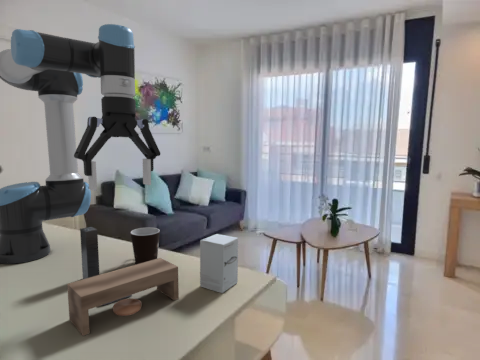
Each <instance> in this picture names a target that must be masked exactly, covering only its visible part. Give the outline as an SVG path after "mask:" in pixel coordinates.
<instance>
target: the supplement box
mask: <svg viewBox="0 0 480 360" xmlns="http://www.w3.org/2000/svg"><path fill="white" fill-rule="evenodd" d="M199 245H200V246H199V249H200V250H199V257H200V258H199V260H200V261H199V266H200V267H199V270H200V271H199V277H200V278H199V280H200V281H199V286H200V287H201V288H205V289H207V290H211V291H213V292H217V293H220V294H224V293H225V292H226V291H227V290H228V289H229V290H230V288H232V287H233V286H234V285H236V284H238V281H239V280H238V277H239V276H238V275H239V274H238V271H239V265H238V263H239V237H235V236H231V235H224V234H221V233H216V234H212V235H211V236H208V237H206V238H203V239H200V241H199Z"/></svg>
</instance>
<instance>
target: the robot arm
mask: <svg viewBox="0 0 480 360" xmlns="http://www.w3.org/2000/svg"><path fill="white" fill-rule="evenodd" d="M97 39H98V41H97V42H89V41H84V40H79V39H74V38H68V37H63V36H59V35H53V34H48V33H44V32H40V31H35V30H32V29H31V30H30V29H28V30H27V29H21V28H20V29H19V28H15V29H14V30H13V31H12V32H11V37H10V48H9V49H3V50H1V51H0V80H2V81H3V82H4V83H6V84H7V85H9V86H11V87H14V88H17V89H19V90H25V91H31V92H37V96H38V97H37V98H38V99H40V100H41V102H43V104H44V115H45V116H44V117H45V127H46V137H47V138H46V139H47V140H46V141H47V150H48V151H47V152H48V153H47V154H48V165H49V167H48V168H49V175H48V176H47V177H46V179H45V185H41V184H40V182H38V181H29V182H28V181H27V182H20V183H15V184H10V185H9V184H8V185H7V186H3V187H1V188H0V264H3V265H4V264H6V265H7V264H8V265H9V264H10V265H13V264H21V263H28V262H31V261H32V262H33V261H35V260H38V259H42V258H44V257H46V256H48V255H50V253H51V244H50V243H49V241H48V238H47V236H46V234H45V231H44V230H43V222H45V221H51V220H57V219H58V220H59V219H65V218H74V217H77V216H78V217H79V216H83V215H84V214H86V213H87V212H88V210H89V208H90V205H91V200H92V199H91V198H92V191H93V192H95V191H98V182H97V180H98V179H97V162H96V161H93V159H94V158H95V157H96V155H97V154H98V153H99V152H100V150H101V149H102V148H103V147H104V145H105V144H106V143H107V142H108V141H109V140H110V139H111V138H129V139H130V140H131V142H133V144H134V145H135V146H136V147H137V149H138V150H139V151H140V152H141V153H142V155H143V156H144V158H142V184H143V185H147V186H152V172H153V171H154V169H155V168H154V160H155V159H156V158H157V157H160V156H161V151H160V150H159V147H158V144H157V143H156V140H155V138H154V136H153V133H152V132H151V129H150V126H149V125H150V124H149V119H147V118H141V119H137V118H136V114H137V108H136V107H137V106H136V103H137V102H136V99H135V98H134V97H135V96H136V79H135V76H136V74H135V68H136V67H135V65H136V64H135V62H136V61H135V47H136V46H135V42H134V41H135V39H134V32H133V31H132V30H131V28H129V27H127V26H124V25H120V24H115V23H110V24H109V23H106V24H102V25H101V26H99V28H98V36H97ZM83 75H86V76H88V77H90V78H98V79H99V78H100V94H101V96H102V95H103V97H102V98H101V101H100V102H101V117H100V118H99V117H97V116H89V117H88V118H87V125H86V128H85V131H84V132H83V135H82V137H81V139H80V140H79V141H80V142H79V143H78V146H77V142H76V140H77V139H76V127H75V126H76V125H75V113H74V103H75V102H76V101H77V100H78V96H79V95H81V94H82V93H83V87H84V82H83V81H84V79H83ZM100 125H101V126H102V128H104V129H103V130H102V131H101V132H100V134H99V136H98V138H97V139H96V140H95V141H94V142H93V144H92V145H91V146H90V144H91V141H92V140H93V137H94V135H95V132H96V130H97V128H98V127H100ZM137 127H138V129H139V130H140V133H141V134H142V138H143V139H142V138H141V137H140V135H139V133H138V132H137V131H136V128H137ZM144 141H145V142H144ZM89 146H90V147H89ZM78 160H81V161H82V162H83V175H84V176H86V177H88V182H86V181H84V176H82V174H80V173H79V167H78Z"/></svg>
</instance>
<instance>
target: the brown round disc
mask: <svg viewBox="0 0 480 360" xmlns="http://www.w3.org/2000/svg"><path fill="white" fill-rule="evenodd" d="M141 310H142V301H141V300H140V299H137V298H132V297H131V298H130V297H128V298H124V299H122V300H119V301H116V302H114V304H113V308H112V311H113V314H115V315H116V316H121V317H123V316H124V317H125V316H131V315H134V314H137V313H138V312H140V311H141Z"/></svg>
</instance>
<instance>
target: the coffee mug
mask: <svg viewBox="0 0 480 360" xmlns="http://www.w3.org/2000/svg"><path fill="white" fill-rule="evenodd" d="M160 230H161V229H159V228H157V227H139V228H135V229H132V230H131V231H130V238H131V243H132V251H133V256H134V265H137V264H140V263H144V262H147V261H151V260H154V259H158V255H159V254H158V253H159V243H160V233H161V231H160Z"/></svg>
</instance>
